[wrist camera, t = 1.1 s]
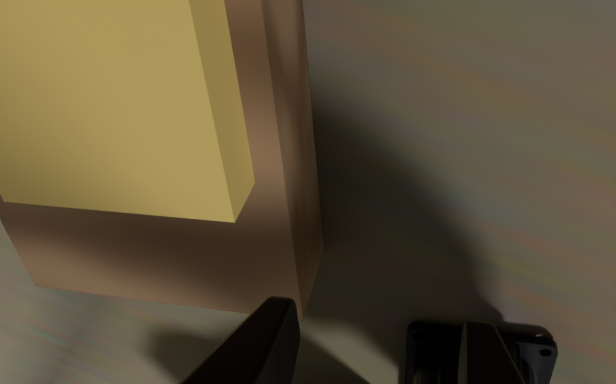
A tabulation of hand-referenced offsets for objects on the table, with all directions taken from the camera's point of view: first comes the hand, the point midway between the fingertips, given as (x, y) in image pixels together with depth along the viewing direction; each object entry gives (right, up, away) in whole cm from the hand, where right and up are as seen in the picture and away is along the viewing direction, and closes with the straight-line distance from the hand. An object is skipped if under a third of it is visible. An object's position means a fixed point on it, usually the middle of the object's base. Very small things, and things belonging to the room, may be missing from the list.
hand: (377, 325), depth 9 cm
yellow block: (-7, +5, +8) cm, 12 cm away
